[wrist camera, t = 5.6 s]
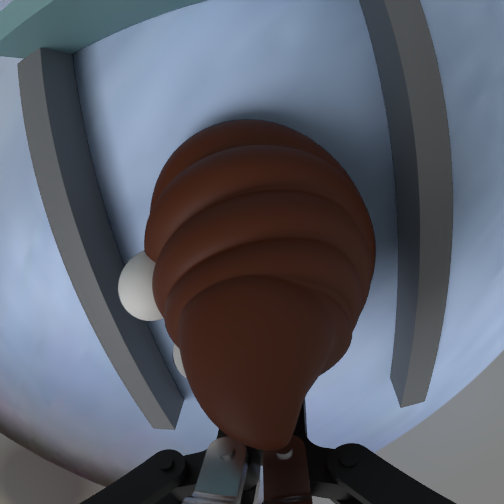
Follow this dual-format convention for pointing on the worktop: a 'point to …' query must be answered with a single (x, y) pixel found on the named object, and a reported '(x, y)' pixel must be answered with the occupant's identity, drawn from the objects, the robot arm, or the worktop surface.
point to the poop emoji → (253, 272)
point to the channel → (98, 227)
